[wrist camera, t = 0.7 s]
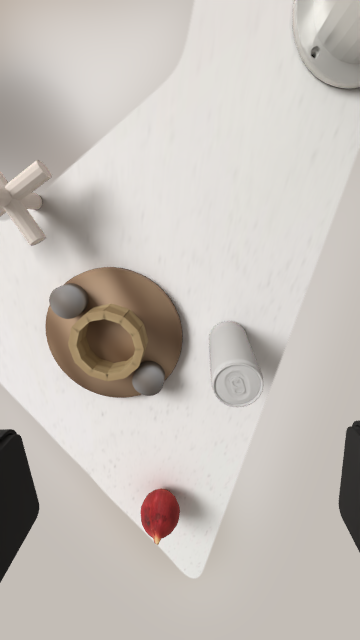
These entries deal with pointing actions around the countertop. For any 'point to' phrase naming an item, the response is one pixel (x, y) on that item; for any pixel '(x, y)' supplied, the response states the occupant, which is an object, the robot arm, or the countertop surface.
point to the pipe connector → (24, 199)
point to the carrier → (114, 332)
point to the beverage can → (233, 366)
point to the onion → (159, 514)
